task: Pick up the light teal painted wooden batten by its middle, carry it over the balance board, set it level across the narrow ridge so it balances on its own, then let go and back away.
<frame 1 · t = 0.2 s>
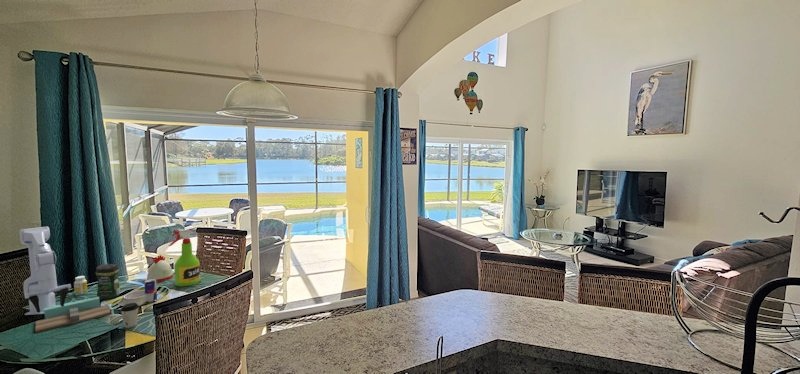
hand: (50, 308, 153), 11 cm above the table, tool pointing down, fingers open, 7 cm apart
coffee cup: (130, 325, 161), on the table
spray bottle: (184, 283, 212), on the table
coffee jar: (109, 296, 191), on the table
supplement bottle: (81, 293, 194), on the table
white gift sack: (160, 278, 220), on the table
batten: (73, 312, 172), on the table
balance board: (74, 318, 166), on the table
energy drink: (151, 301, 186), on the table
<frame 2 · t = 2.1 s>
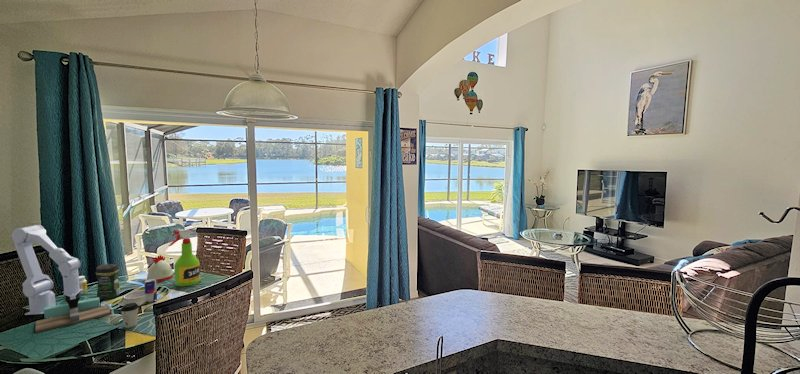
hand: (73, 308, 172), 2 cm above the table, tool pointing down, fingers open, 5 cm apart
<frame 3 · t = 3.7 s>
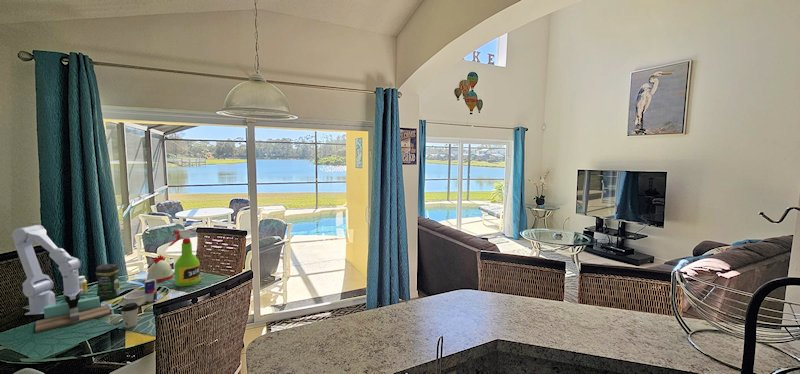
hand: (73, 308, 172), 2 cm above the table, tool pointing down, fingers closed on batten, 4 cm apart
batten: (73, 311, 172), on the table, touching gripper
everything else where it was.
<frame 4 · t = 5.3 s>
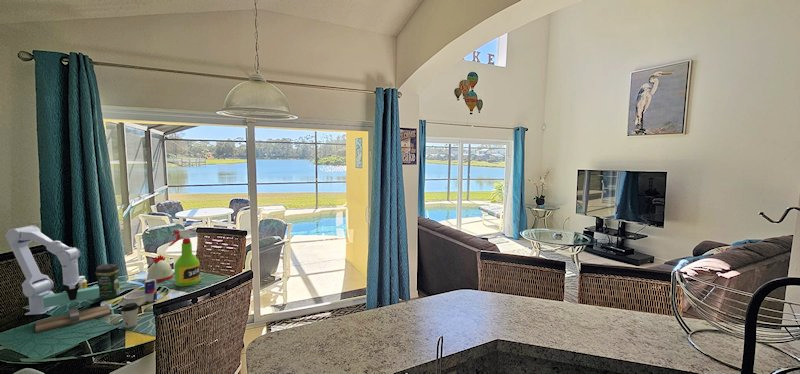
hand: (72, 298, 171), 7 cm above the table, tool pointing down, fingers closed on batten, 4 cm apart
batten: (72, 301, 171), point 6 cm above the table, touching gripper
everything else where it was.
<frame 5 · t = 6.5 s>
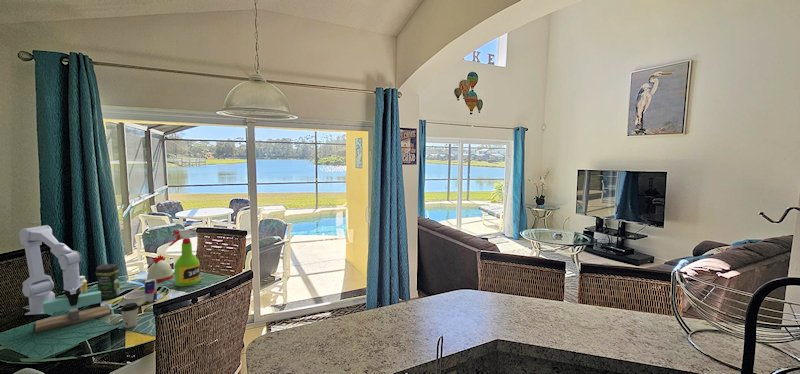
hand: (73, 304, 165), 7 cm above the table, tool pointing down, fingers closed on batten, 4 cm apart
batten: (73, 306, 165), point 6 cm above the table, touching gripper
everything else where it was.
when the fingers open (5 cm above the table, at t = 7.6 s): batten stays where it is, resting on balance board.
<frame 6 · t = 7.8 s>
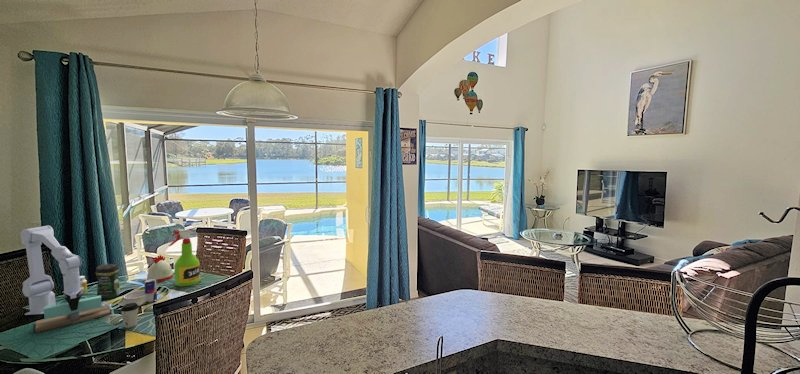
hand: (73, 308, 165), 5 cm above the table, tool pointing down, fingers open, 6 cm apart
batten: (74, 311, 165), point 3 cm above the table, touching balance board
everything else where it was.
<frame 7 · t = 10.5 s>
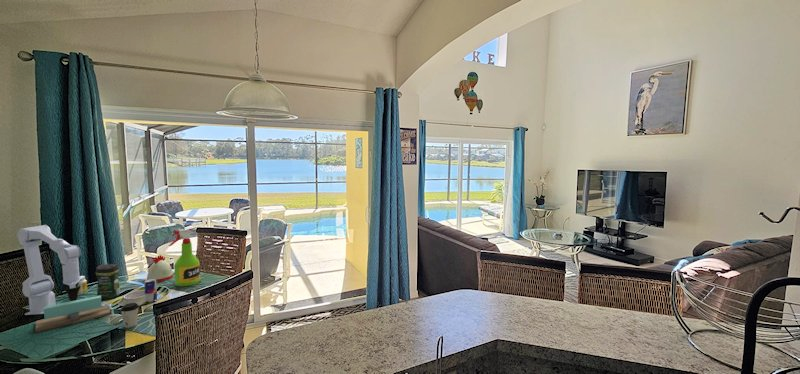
hand: (73, 298, 165), 10 cm above the table, tool pointing down, fingers open, 7 cm apart
nothing on the table moved.
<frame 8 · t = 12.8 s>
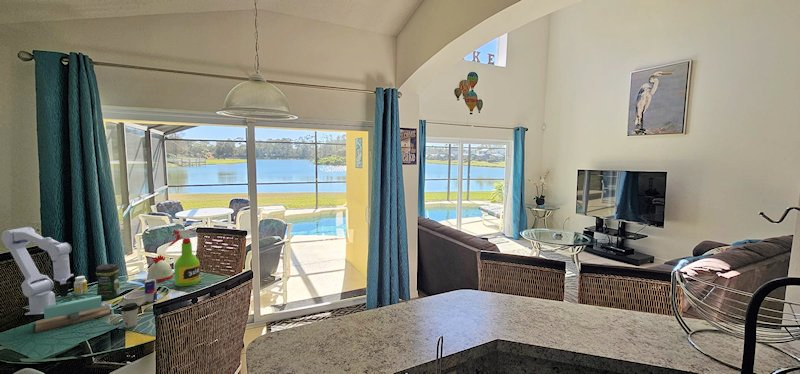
hand: (63, 294, 169), 10 cm above the table, tool pointing down, fingers open, 7 cm apart
nothing on the table moved.
at the end: batten 0.1 cm off-centre on the balance board, point 3.5 cm above the balance board's base; batten tilted 0°; batten touching balance board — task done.
